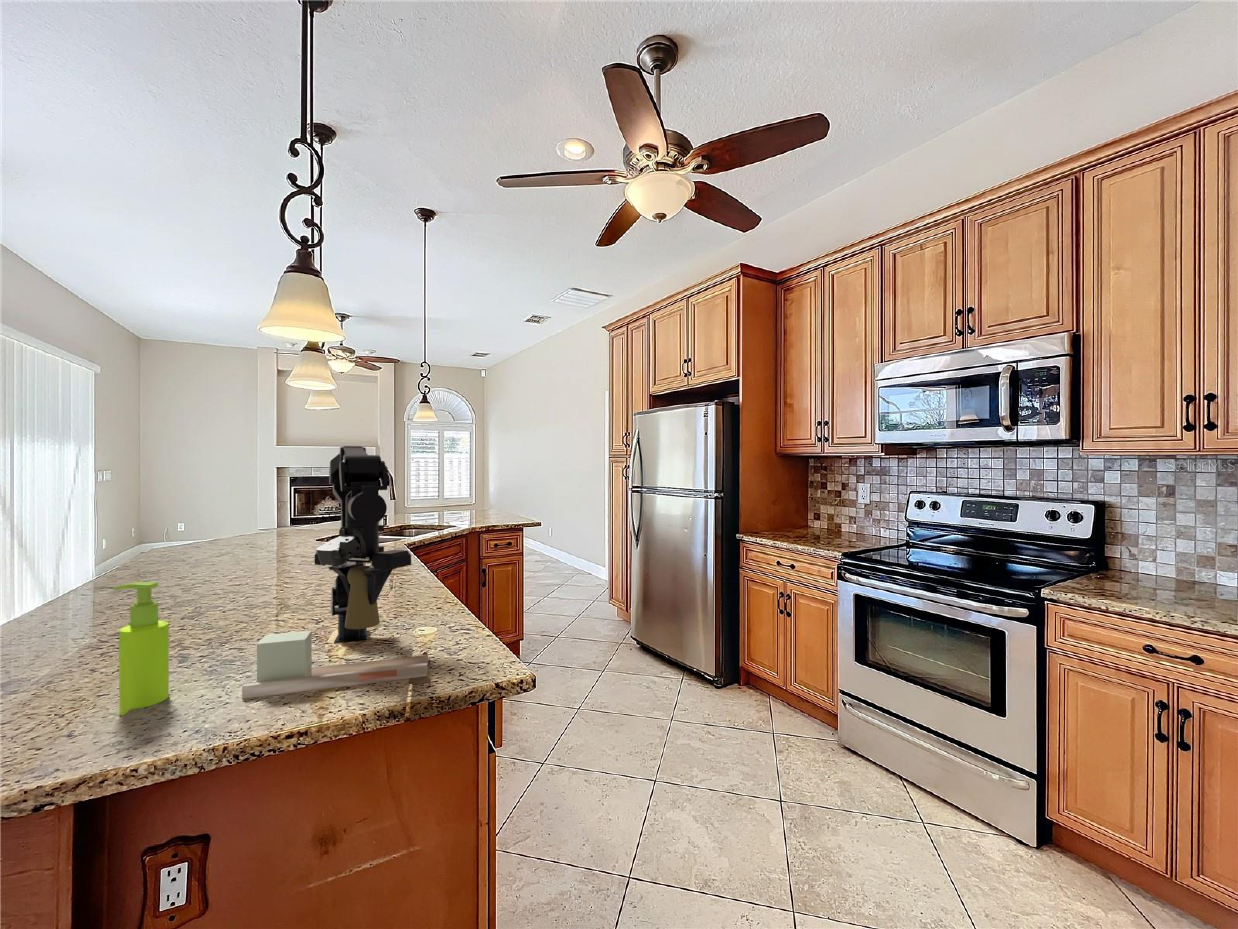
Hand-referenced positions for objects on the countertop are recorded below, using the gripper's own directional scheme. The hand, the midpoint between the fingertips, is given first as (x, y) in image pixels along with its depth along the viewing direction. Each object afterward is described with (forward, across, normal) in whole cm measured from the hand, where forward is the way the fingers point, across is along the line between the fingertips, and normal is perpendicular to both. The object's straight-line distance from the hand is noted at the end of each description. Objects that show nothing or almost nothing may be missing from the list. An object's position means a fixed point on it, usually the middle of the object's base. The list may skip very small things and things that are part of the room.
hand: (362, 603), depth 101 cm
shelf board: (+13, +1, -5) cm, 14 cm away
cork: (+4, 0, 0) cm, 4 cm away
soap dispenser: (+13, -20, -25) cm, 34 cm away
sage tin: (+11, -5, -12) cm, 17 cm away
